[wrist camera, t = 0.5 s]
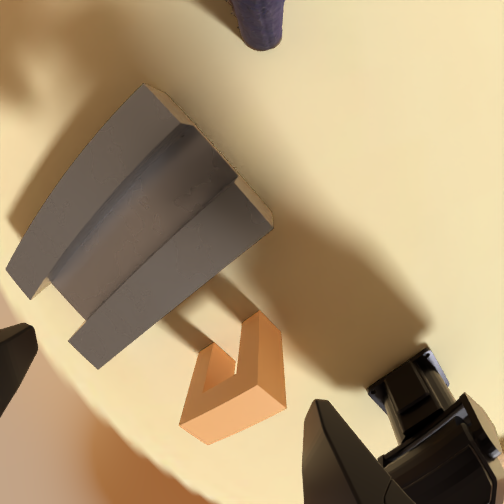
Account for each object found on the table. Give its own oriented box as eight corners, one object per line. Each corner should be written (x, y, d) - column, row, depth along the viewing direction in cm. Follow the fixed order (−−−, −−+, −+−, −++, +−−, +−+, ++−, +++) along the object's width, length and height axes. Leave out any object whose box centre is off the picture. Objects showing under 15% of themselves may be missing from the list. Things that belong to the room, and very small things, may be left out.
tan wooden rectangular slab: (280, 332, 22) (286, 408, 15) (220, 370, 24) (207, 445, 17) (259, 310, 22) (257, 384, 15) (199, 352, 23) (178, 425, 16)
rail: (271, 211, 20) (273, 228, 16) (116, 341, 23) (98, 369, 20) (165, 92, 17) (143, 83, 14) (34, 251, 21) (5, 269, 17)
